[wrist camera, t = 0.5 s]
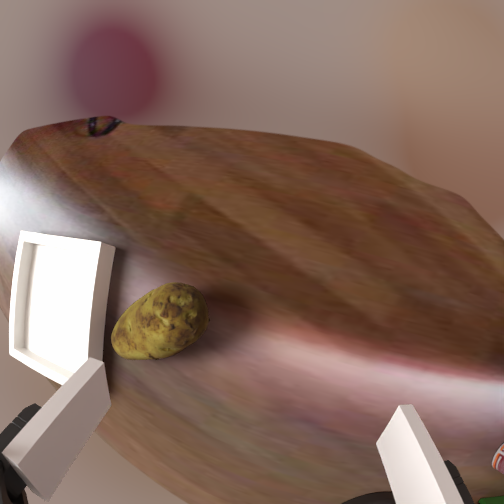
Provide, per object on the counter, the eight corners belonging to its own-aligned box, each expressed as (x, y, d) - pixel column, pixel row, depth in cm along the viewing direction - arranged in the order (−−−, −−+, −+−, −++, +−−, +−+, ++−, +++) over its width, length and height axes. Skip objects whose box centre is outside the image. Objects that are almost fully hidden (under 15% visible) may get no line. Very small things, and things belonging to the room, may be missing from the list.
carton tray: (101, 390, 31) (87, 397, 28) (23, 352, 33) (9, 354, 30) (115, 247, 34) (101, 242, 31) (34, 235, 36) (20, 230, 33)
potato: (119, 291, 33) (82, 287, 25) (216, 282, 32) (197, 276, 25) (126, 355, 32) (90, 366, 24) (223, 353, 31) (207, 369, 23)
